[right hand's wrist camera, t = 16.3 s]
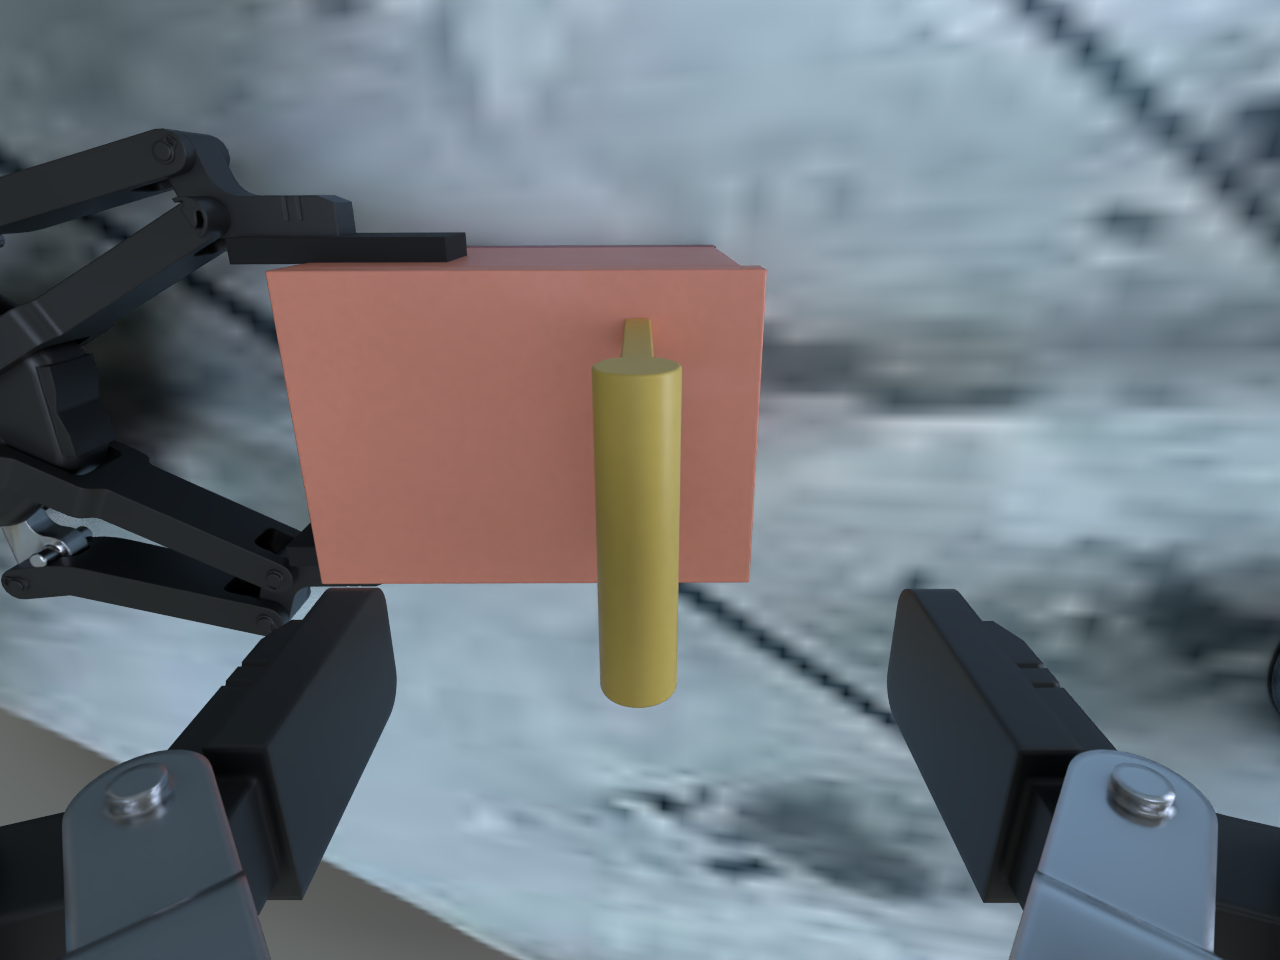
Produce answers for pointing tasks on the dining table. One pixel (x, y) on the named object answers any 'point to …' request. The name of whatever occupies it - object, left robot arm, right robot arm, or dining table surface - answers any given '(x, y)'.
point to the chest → (567, 257)
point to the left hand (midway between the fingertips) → (470, 403)
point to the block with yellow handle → (532, 433)
